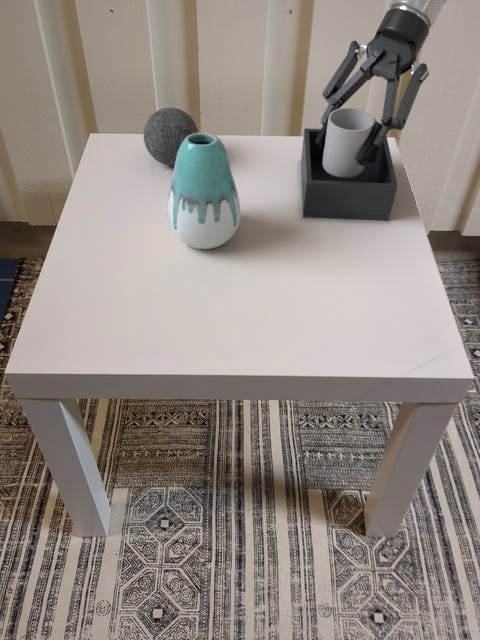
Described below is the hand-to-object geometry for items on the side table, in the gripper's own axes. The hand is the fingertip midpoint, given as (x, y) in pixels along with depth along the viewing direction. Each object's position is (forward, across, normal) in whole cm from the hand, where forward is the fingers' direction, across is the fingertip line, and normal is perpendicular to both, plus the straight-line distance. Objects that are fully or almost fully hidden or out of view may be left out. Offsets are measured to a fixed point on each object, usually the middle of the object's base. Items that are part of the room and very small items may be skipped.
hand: (339, 153), depth 93 cm
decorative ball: (+13, +30, 0) cm, 32 cm away
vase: (+22, +11, +9) cm, 26 cm away
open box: (+4, 0, -9) cm, 10 cm away
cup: (0, 0, -5) cm, 5 cm away
